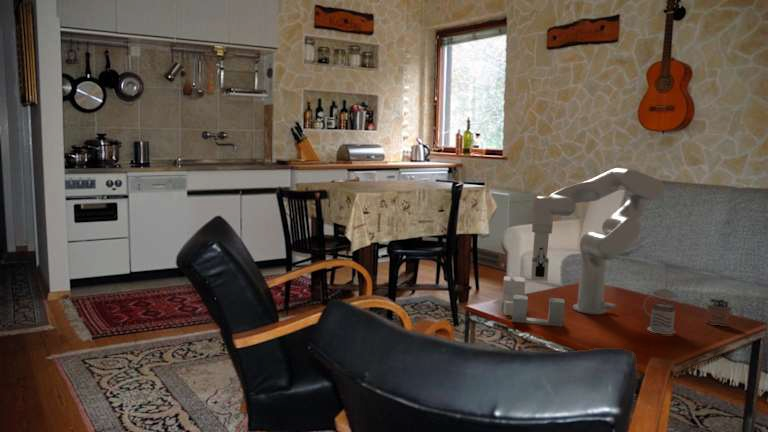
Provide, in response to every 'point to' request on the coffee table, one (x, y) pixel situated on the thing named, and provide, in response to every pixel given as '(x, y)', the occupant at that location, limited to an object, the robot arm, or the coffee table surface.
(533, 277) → the module
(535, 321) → the grey u-shaped block
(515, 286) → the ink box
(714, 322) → the lighter
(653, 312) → the french press
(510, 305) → the block
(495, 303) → the coffee table surface
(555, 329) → the coffee table surface
